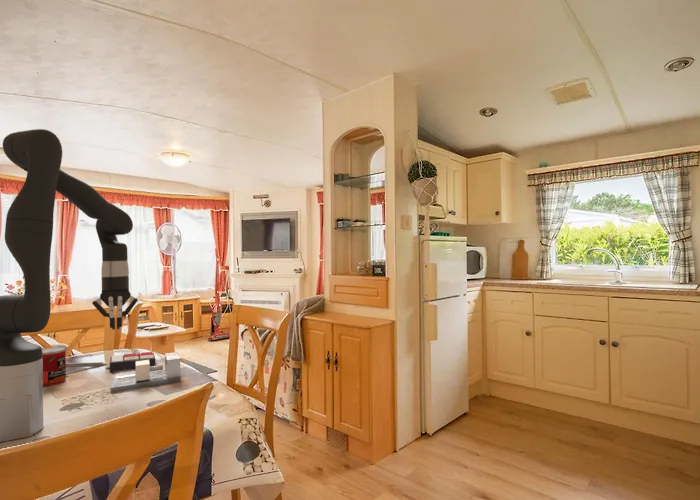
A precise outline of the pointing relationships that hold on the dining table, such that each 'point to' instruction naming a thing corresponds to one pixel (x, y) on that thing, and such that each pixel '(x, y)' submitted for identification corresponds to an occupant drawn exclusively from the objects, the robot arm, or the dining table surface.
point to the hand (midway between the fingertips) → (116, 328)
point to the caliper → (85, 364)
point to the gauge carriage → (145, 370)
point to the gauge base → (151, 376)
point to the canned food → (54, 365)
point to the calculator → (130, 361)
